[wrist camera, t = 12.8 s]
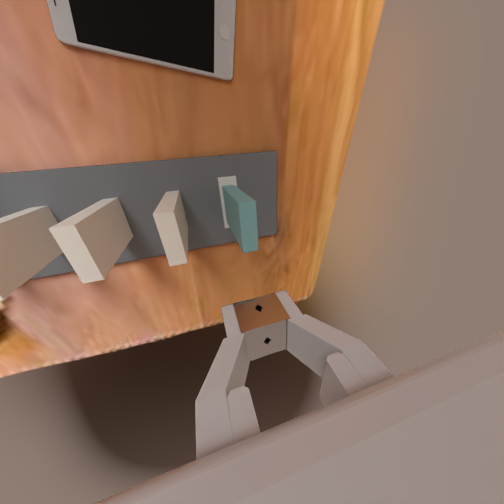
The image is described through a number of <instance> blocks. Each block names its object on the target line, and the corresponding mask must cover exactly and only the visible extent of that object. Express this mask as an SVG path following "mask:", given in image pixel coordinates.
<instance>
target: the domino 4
mask: <svg viewBox="0 0 504 504" xmlns="http://www.w3.org/2000/svg"><path fill="white" fill-rule="evenodd" d="M222 191H223V198H224V205H225V212H226V220H227V223H228V225H229V227H230V229H231V231H232V233H233V235H234V236H235V238H236V240H237V242H238V244H239V246H240V248H241V250H242V252H243V253H247V252H252V251H257V250H259V249H258V231H257V213H256V201H255V200H254V199H253V198H251V197H250V196H249V195H247V194H246V193H244V192H243V191H242V190H240V189H239V188H238V187H236V186H235V185H226V186H222Z"/></svg>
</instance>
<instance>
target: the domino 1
mask: <svg viewBox="0 0 504 504" xmlns="http://www.w3.org/2000/svg"><path fill="white" fill-rule="evenodd" d="M56 224H58V222H57V221H56V219H55V217H54V215H53V214H52V212H51V210H50V209H49V207H48V206H40V207H31V208H28V209H25V210H22V211H19V212H16V213H13V214H10V215H7V216H5V217H2V218H0V300H3V299H5V298H6V297H7V296H9V295H10V294H11V293H12V292H14V291H15V290H16V289H17V288H19V287H20V286H21V285H23V284H24V283H25V282H26V281H28V280H29V279H30V278H31V277H33V276H34V275H35V274H36V273H38V272H39V271H40V270H41V269H43V268H44V267H45V266H47V265H48V264H49V263H50V262H52V261H53V260H54V259H55V258H57V257H58V256H59V255H60V254H62V253H63V251H62V250H61V248H60V246H59V245H58V243H57V242H56V240H55V238H54V237H53V235H52V234H51V232H50V230H49V229H48V228H50V227H52V226H54V225H56Z"/></svg>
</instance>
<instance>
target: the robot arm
mask: <svg viewBox="0 0 504 504" xmlns="http://www.w3.org/2000/svg"><path fill="white" fill-rule="evenodd" d="M221 310H222V315H223V320H224V324H225V329H226V334H227V338H225V339H223V341H222V344H221V346H220V348H219V351H218V353H217V355H216V357H215V359H214V361H213V364H212V366H211V368H210V371H209V372H208V375H207V377H206V379H205V381H204V384H203V386H202V388H201V390H200V392H199V395H198V397H197V399H196V401H195V406H196V407H195V409H196V460H195V461H193V462H191V463H188V464H186V465H184V466H182V467H179V468H177V469H174V470H172V471H169V472H167V473H165V474H162V475H160V476H158V477H156V478H153V479H151V480H148V481H146V482H144V483H141V484H139V485H136V486H134V487H132V488H129V489H127V490H125V491H122V492H120V493H118V494H115V495H113V496H110V497H108V498H106V499H103V500H101V501H99V502H96V503H94V504H504V330H503V331H501V332H499V333H496V334H493V335H491V336H489V337H486V338H484V339H482V340H479V341H477V342H475V343H472V344H470V345H467V346H465V347H463V348H460V349H458V350H456V351H453V352H451V353H449V354H446V355H444V356H441V357H439V358H437V359H434V360H432V361H430V362H427V363H425V364H422V365H420V366H418V367H416V368H413V369H411V370H408V371H406V372H404V373H402V374H399V375H396V376H393V375H392V374H391V372H389V370H388V369H387V368H386V367H385V366H384V365H383V364H382V362H381V361H380V360H379V359H378V358H377V357H376V356H375V355H374V354H373V353H372V351H371V350H370V349H369V348H368V347H367V346H366V345H365V344H364V343H363V342H362V341H360V340H358V339H356V338H353V337H352V336H350V335H348V334H346V333H344V332H341V331H339V330H337V329H335V328H333V327H331V326H329V325H327V324H325V323H323V322H321V321H319V320H317V319H315V318H313V317H311V316H309V315H307V314H304V315H302V313H301V312H300V310H299V309H298V307H297V306H296V305H295V303H294V302H293V300H292V299H291V297H290V296H289V295H288V293H287V292H286V291H285V290H282V291H279V292H275V293H272V294H268V295H265V296H261V297H257V298H254V299H250V300H246V301H242V302H238V303H233V304H230V305H226V306H222V307H221ZM285 349H287V350H288V351H289V352H290V353H291V354H293V355H294V356H295V357H297V358H298V359H299V360H300V361H301V362H303V363H304V364H305V365H306V366H308V367H309V368H310V369H312V370H313V371H314V372H315V373H317V374H318V375H319V376H320V377H322V378H323V381H322V386H321V391H320V398H321V400H322V402H323V404H324V406H323V407H321V408H318V409H316V410H314V411H311V412H309V413H307V414H305V415H302V416H299V417H297V418H295V419H293V420H290V421H288V422H285V423H283V424H281V425H278V426H276V427H273V428H271V429H269V430H266V431H264V432H262V433H260V430H259V426H258V422H257V418H256V415H255V411H254V407H253V403H252V399H251V395H250V391H249V388H247V387H245V386H244V385H245V381H246V376H247V372H248V367H249V364H250V362H249V361H252V360H255V359H257V358H260V357H263V356H266V355H268V354H272V353H275V352H278V351H282V350H285Z"/></svg>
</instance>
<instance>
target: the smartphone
mask: <svg viewBox="0 0 504 504" xmlns="http://www.w3.org/2000/svg"><path fill="white" fill-rule="evenodd" d="M47 4H48V8H49V11H50V15H51V19H52V23H53V27H54V31H55V35H56V37H57V38H58V39H59V40H60V41H61V42H62V43H64V44H66V45H69V46H74V47H78V48H83V49H87V50H92V51H96V52H101V53H105V54H110V55H114V56H118V57H123V58H127V59H132V60H136V61H141V62H145V63H150V64H154V65H159V66H163V67H167V68H172V69H176V70H181V71H185V72H190V73H194V74H199V75H203V76H208V77H212V78H216V79H221V80H225V81H230V80H232V78H233V58H234V34H235V9H236V0H47Z"/></svg>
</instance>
